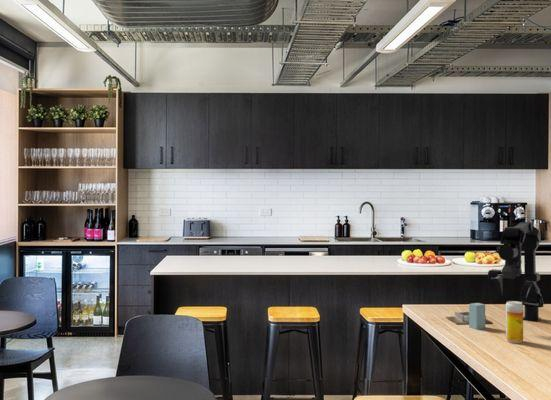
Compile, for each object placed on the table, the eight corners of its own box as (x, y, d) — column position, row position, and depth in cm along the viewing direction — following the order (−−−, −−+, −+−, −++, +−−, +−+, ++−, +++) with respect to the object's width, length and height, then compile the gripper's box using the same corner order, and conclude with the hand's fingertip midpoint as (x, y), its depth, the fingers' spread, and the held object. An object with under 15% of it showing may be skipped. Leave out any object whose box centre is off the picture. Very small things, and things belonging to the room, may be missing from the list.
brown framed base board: (479, 317, 241) (479, 310, 241) (492, 323, 229) (492, 316, 229) (445, 318, 239) (445, 311, 239) (457, 324, 227) (457, 317, 227)
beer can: (525, 344, 198) (525, 304, 197) (507, 343, 199) (507, 303, 199) (520, 339, 203) (520, 301, 203) (504, 338, 205) (504, 300, 205)
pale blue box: (479, 325, 225) (479, 302, 225) (487, 327, 222) (487, 304, 221) (469, 327, 223) (469, 303, 222) (476, 329, 219) (476, 305, 219)
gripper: (483, 258, 214) (483, 296, 214) (533, 261, 202) (533, 302, 202) (492, 255, 222) (492, 292, 222) (540, 259, 210) (540, 298, 210)
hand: (513, 296), depth 214 cm, fingers open, 9 cm apart
